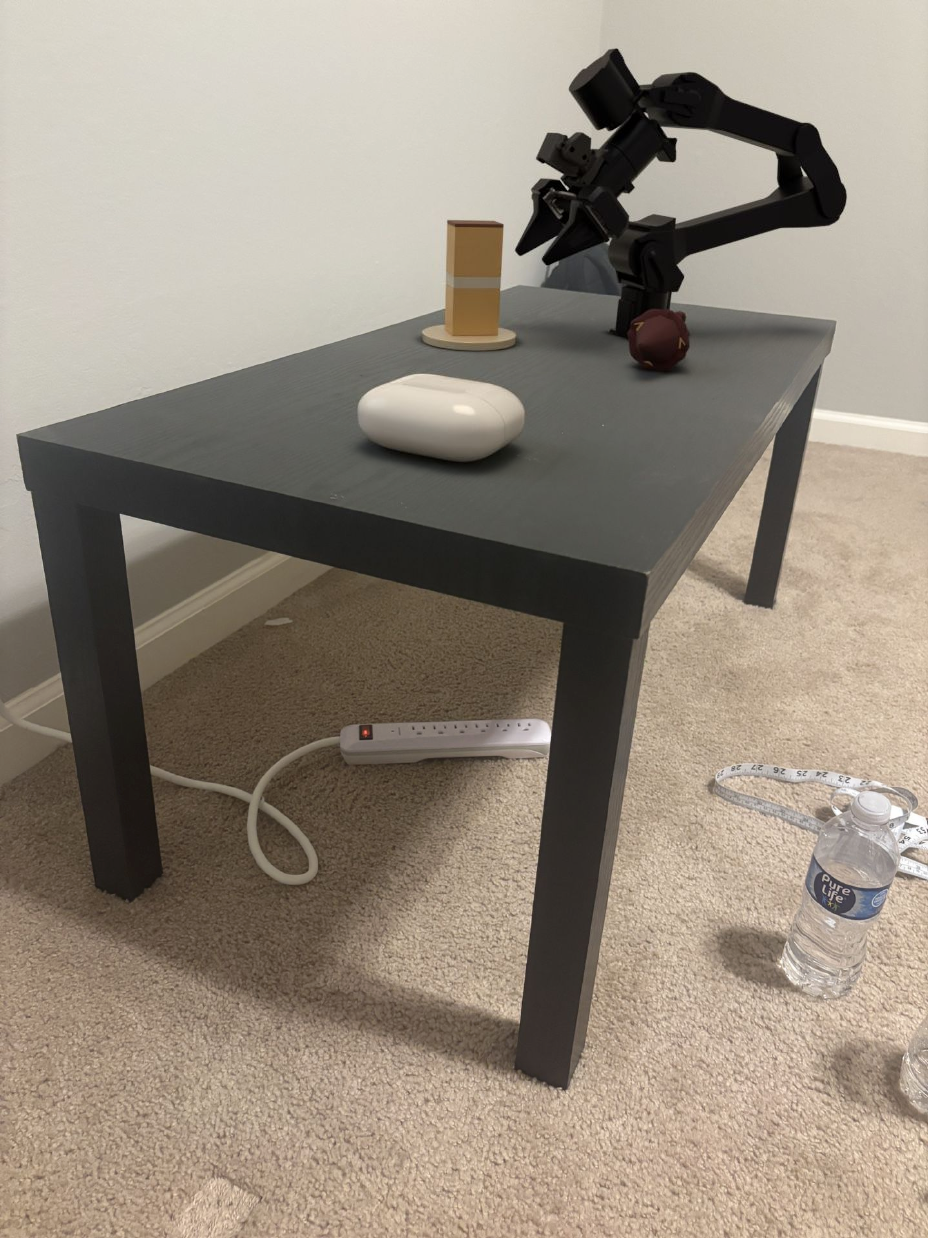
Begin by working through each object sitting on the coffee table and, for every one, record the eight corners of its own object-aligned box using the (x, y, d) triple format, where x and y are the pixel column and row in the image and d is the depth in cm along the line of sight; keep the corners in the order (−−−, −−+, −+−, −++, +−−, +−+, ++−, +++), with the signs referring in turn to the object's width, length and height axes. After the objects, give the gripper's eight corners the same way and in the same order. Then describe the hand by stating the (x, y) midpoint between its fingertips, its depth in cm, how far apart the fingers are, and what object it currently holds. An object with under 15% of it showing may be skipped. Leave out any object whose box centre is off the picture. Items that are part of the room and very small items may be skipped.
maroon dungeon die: (685, 325, 95) (715, 318, 107) (622, 300, 97) (658, 295, 109) (659, 388, 98) (690, 373, 111) (598, 362, 100) (636, 350, 113)
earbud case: (405, 421, 83) (405, 361, 80) (535, 445, 78) (540, 382, 75) (342, 450, 75) (339, 384, 72) (482, 479, 70) (485, 409, 67)
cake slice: (489, 328, 118) (494, 220, 112) (498, 335, 115) (503, 223, 108) (444, 328, 117) (447, 219, 111) (452, 335, 113) (455, 223, 107)
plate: (482, 328, 123) (483, 321, 123) (534, 346, 114) (534, 337, 114) (405, 335, 118) (405, 327, 117) (453, 354, 109) (453, 345, 108)
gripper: (550, 107, 115) (465, 201, 117) (616, 105, 99) (516, 214, 101) (600, 177, 121) (518, 266, 123) (669, 185, 105) (574, 287, 107)
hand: (530, 257), depth 113 cm, fingers open, 9 cm apart
